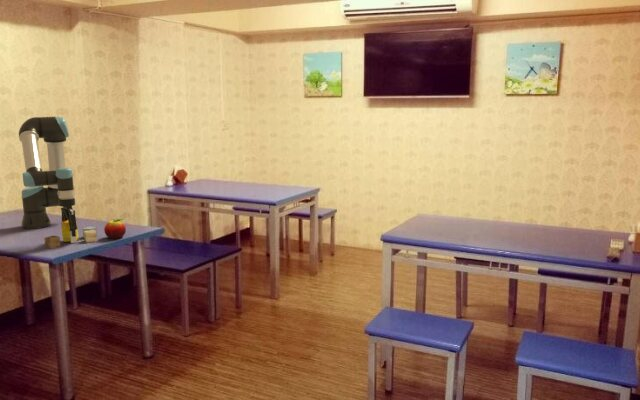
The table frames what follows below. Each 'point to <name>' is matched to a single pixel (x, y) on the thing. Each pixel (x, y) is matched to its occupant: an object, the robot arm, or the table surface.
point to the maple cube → (90, 236)
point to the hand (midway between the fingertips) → (70, 240)
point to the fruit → (115, 229)
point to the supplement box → (67, 231)
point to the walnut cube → (52, 241)
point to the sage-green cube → (89, 230)
